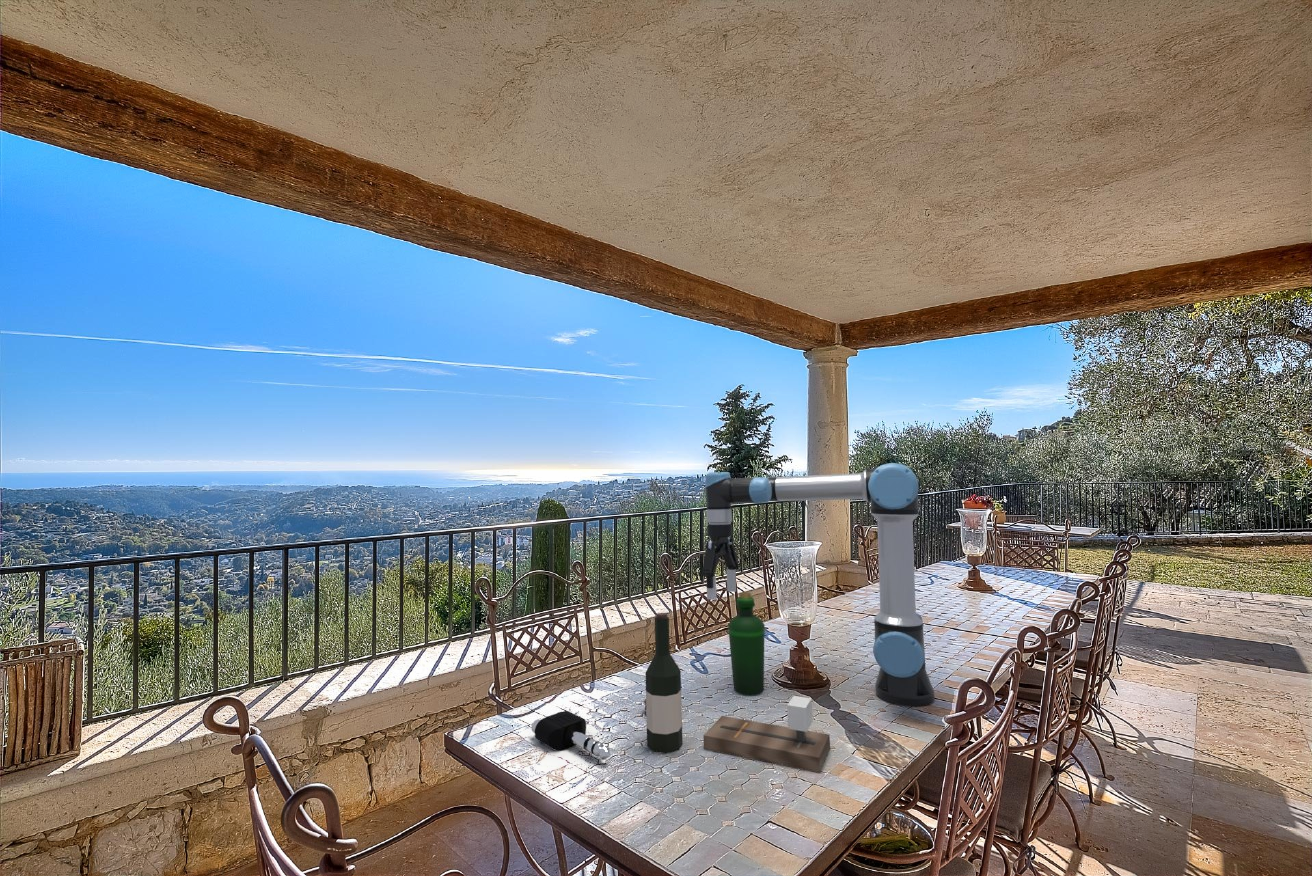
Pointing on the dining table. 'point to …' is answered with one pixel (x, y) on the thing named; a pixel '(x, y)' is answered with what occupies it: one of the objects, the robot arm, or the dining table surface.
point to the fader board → (767, 743)
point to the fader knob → (800, 716)
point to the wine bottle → (663, 694)
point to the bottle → (747, 648)
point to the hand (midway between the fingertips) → (722, 595)
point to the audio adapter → (567, 734)
